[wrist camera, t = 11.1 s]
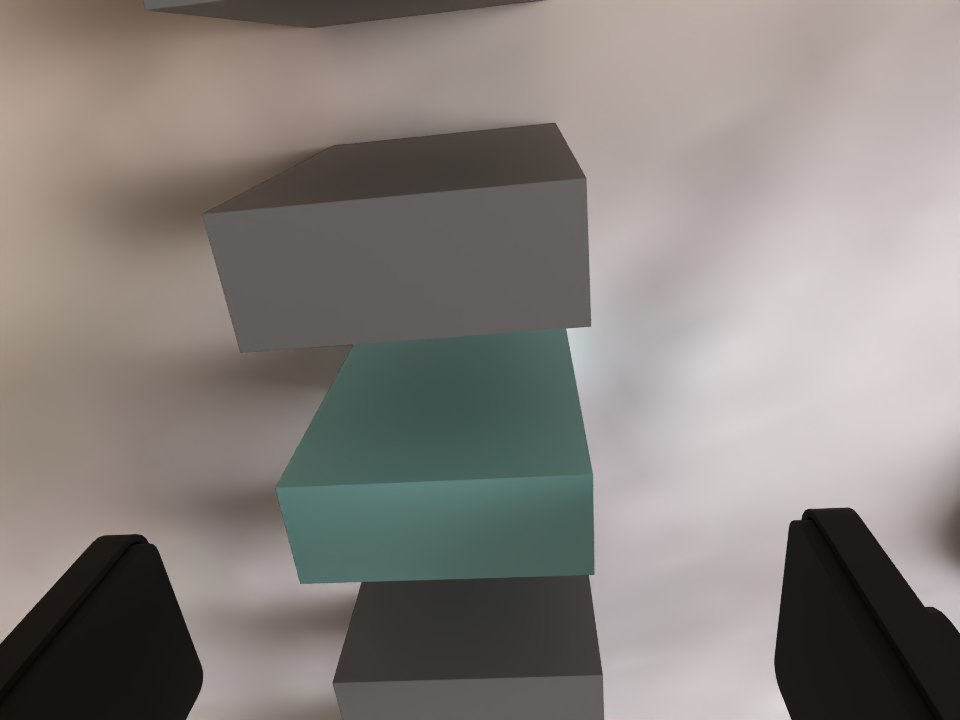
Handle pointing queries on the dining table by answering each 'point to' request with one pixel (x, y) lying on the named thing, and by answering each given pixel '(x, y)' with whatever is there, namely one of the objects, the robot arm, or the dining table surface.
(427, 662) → the domino
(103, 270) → the dining table surface
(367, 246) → the domino
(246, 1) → the domino
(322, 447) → the domino
